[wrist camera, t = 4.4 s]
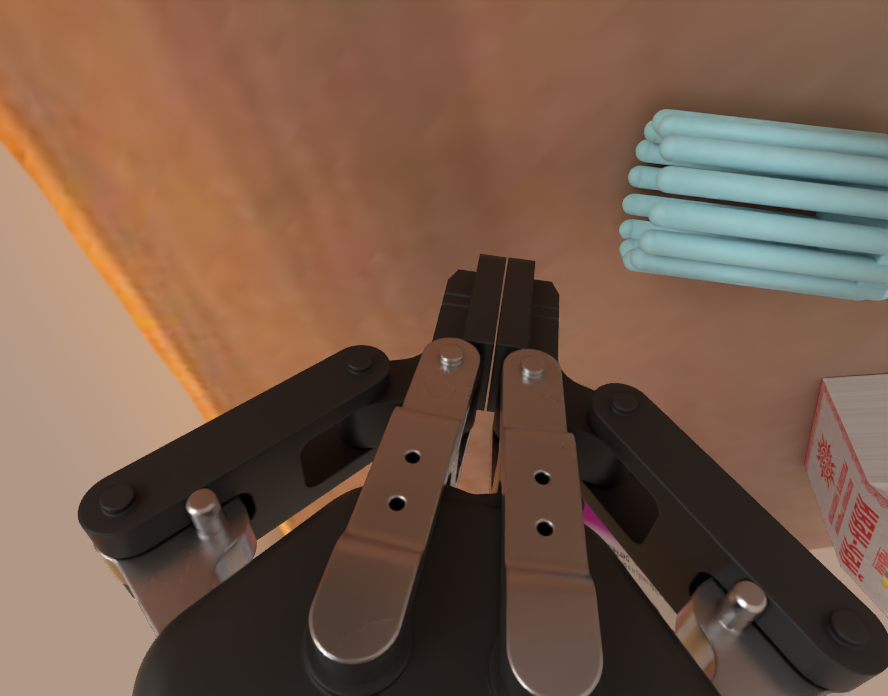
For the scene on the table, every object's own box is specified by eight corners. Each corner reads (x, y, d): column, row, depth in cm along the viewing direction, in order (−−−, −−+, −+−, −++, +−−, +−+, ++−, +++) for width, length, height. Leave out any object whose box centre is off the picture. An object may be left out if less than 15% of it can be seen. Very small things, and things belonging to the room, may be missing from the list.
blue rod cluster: (612, 220, 24) (622, 300, 20) (652, 83, 20) (673, 150, 16) (828, 247, 23) (879, 335, 19) (910, 111, 20) (994, 187, 16)
